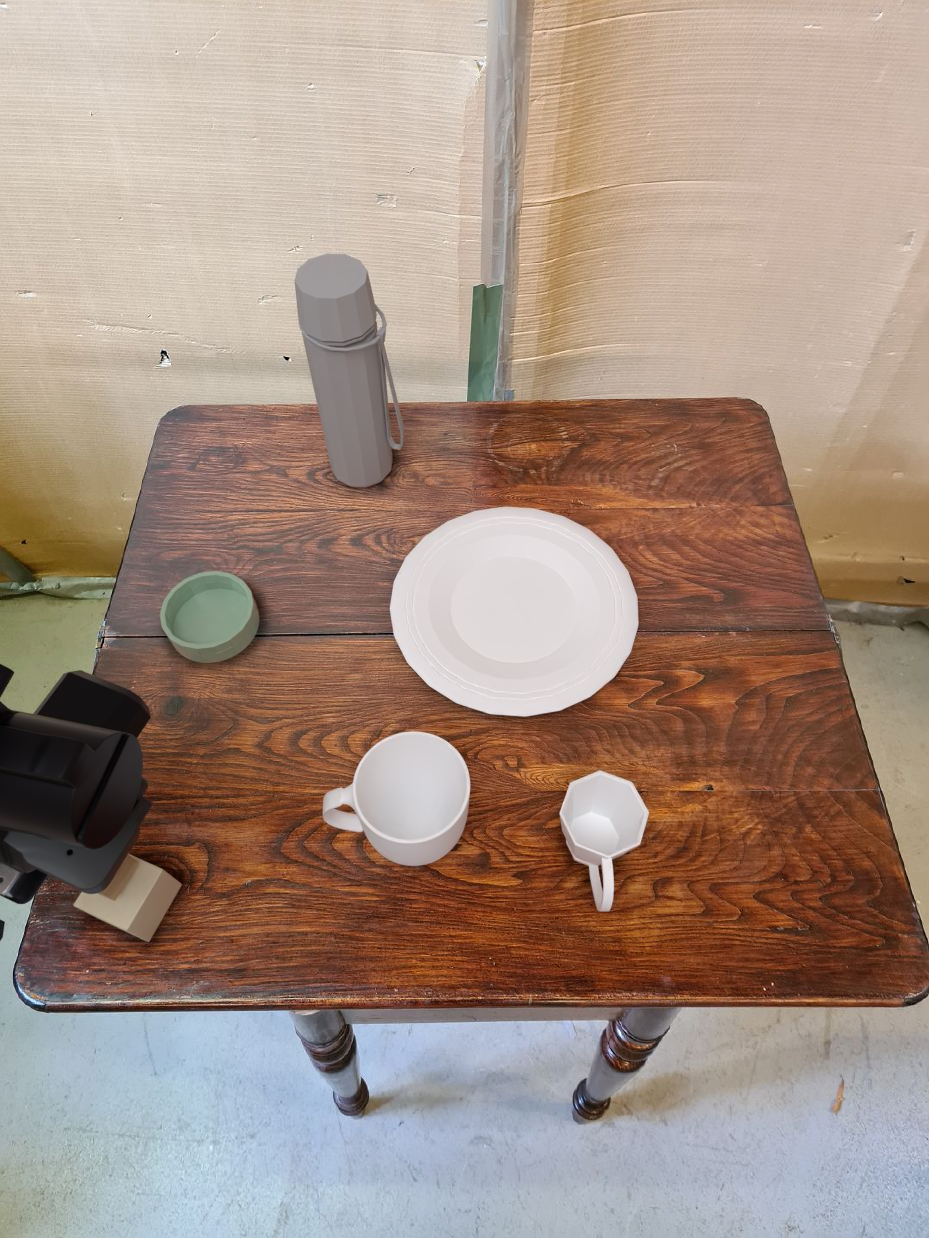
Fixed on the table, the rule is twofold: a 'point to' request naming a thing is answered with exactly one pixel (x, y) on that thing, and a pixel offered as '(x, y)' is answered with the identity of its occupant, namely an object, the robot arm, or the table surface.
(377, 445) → the water bottle
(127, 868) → the stirring stick
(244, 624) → the bowl
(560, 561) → the plate
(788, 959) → the table surface
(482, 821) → the table surface
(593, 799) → the cup
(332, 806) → the mug
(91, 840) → the robot arm
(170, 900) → the stick stand
